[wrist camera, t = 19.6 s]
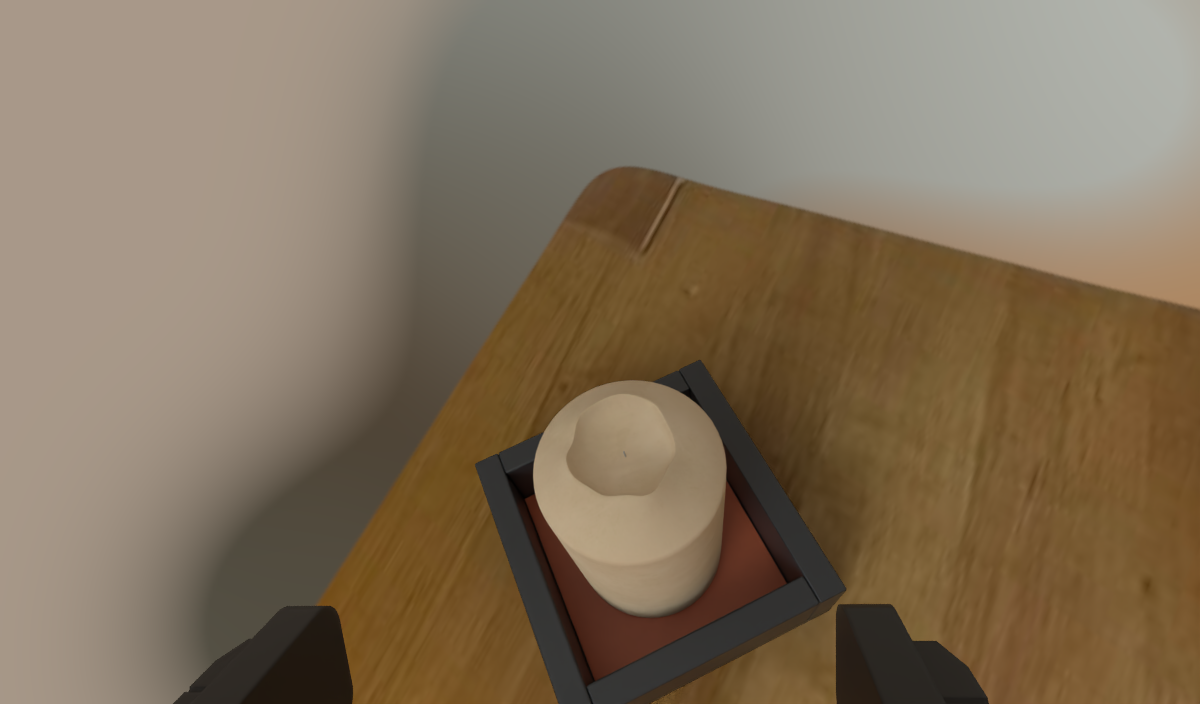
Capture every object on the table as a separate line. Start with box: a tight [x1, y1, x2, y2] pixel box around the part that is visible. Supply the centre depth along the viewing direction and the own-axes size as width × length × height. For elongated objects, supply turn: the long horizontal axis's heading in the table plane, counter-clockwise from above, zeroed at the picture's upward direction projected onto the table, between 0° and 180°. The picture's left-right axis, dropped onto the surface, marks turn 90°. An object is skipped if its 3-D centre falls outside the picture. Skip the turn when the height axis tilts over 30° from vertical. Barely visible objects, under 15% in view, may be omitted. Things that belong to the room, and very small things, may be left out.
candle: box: [533, 380, 727, 618], centre depth 21 cm, size 6×6×10 cm
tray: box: [475, 360, 846, 704], centre depth 25 cm, size 10×10×4 cm
